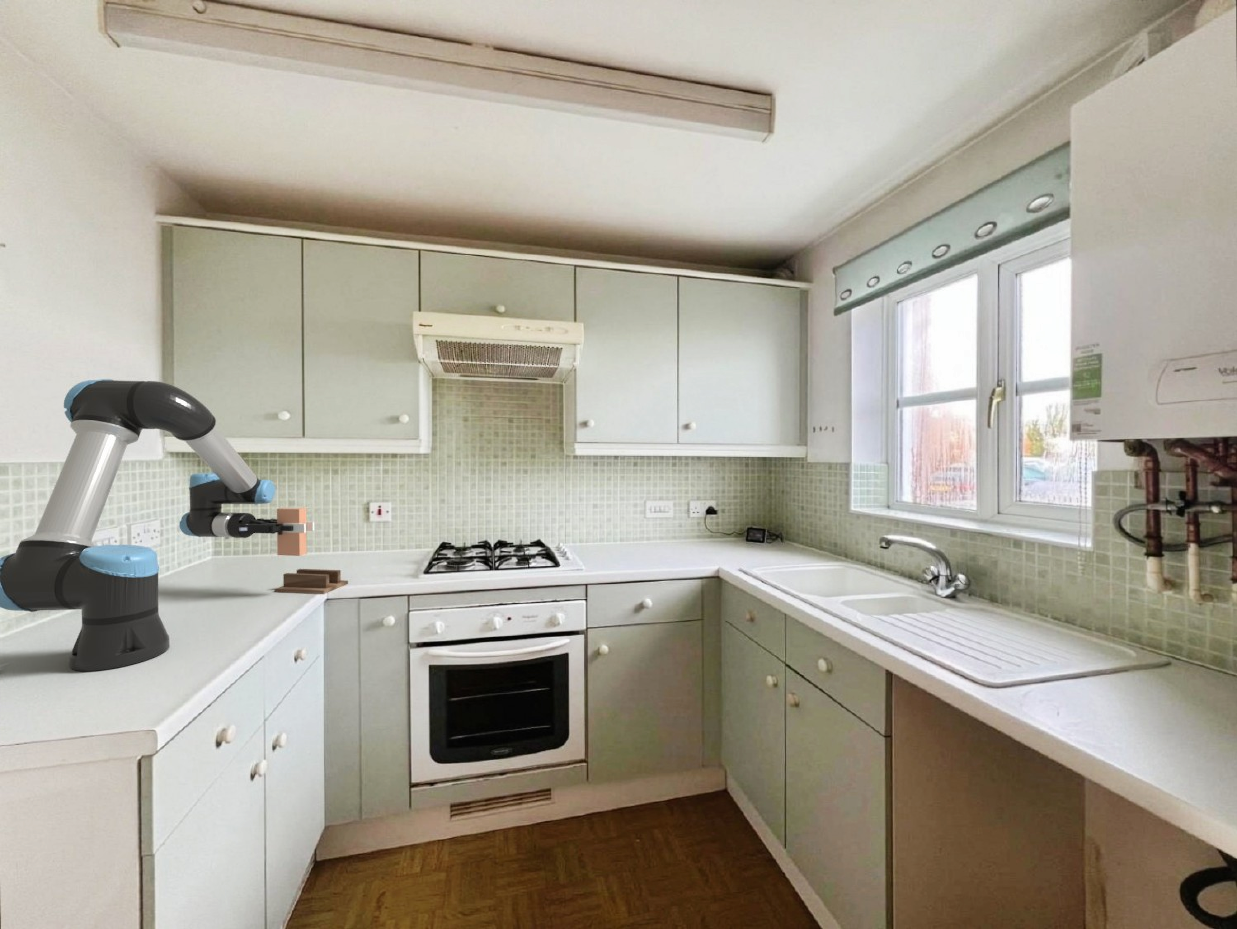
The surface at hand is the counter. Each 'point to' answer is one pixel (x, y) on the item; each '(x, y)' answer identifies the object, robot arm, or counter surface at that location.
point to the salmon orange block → (291, 541)
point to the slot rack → (312, 581)
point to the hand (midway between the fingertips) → (309, 527)
